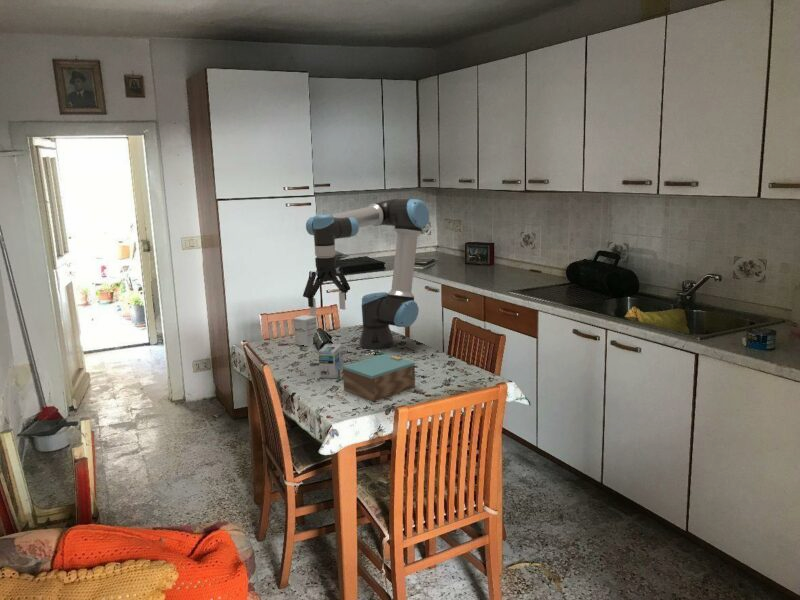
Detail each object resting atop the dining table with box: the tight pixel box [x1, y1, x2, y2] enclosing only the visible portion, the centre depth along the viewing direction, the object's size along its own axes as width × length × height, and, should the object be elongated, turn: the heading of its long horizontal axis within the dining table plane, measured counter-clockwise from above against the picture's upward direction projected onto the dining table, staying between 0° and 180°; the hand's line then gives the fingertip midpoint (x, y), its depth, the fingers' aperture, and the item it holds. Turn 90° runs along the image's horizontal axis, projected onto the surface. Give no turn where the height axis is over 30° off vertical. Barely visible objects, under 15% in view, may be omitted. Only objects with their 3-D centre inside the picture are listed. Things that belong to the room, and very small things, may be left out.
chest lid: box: [343, 353, 415, 379], centre depth 231 cm, size 20×16×2 cm
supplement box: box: [293, 314, 318, 347], centre depth 291 cm, size 7×7×13 cm
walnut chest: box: [342, 365, 416, 402], centre depth 232 cm, size 20×16×8 cm
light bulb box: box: [318, 343, 345, 379], centre depth 249 cm, size 11×7×11 cm, turn 168°
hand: (328, 312), depth 245 cm, fingers open, 13 cm apart
